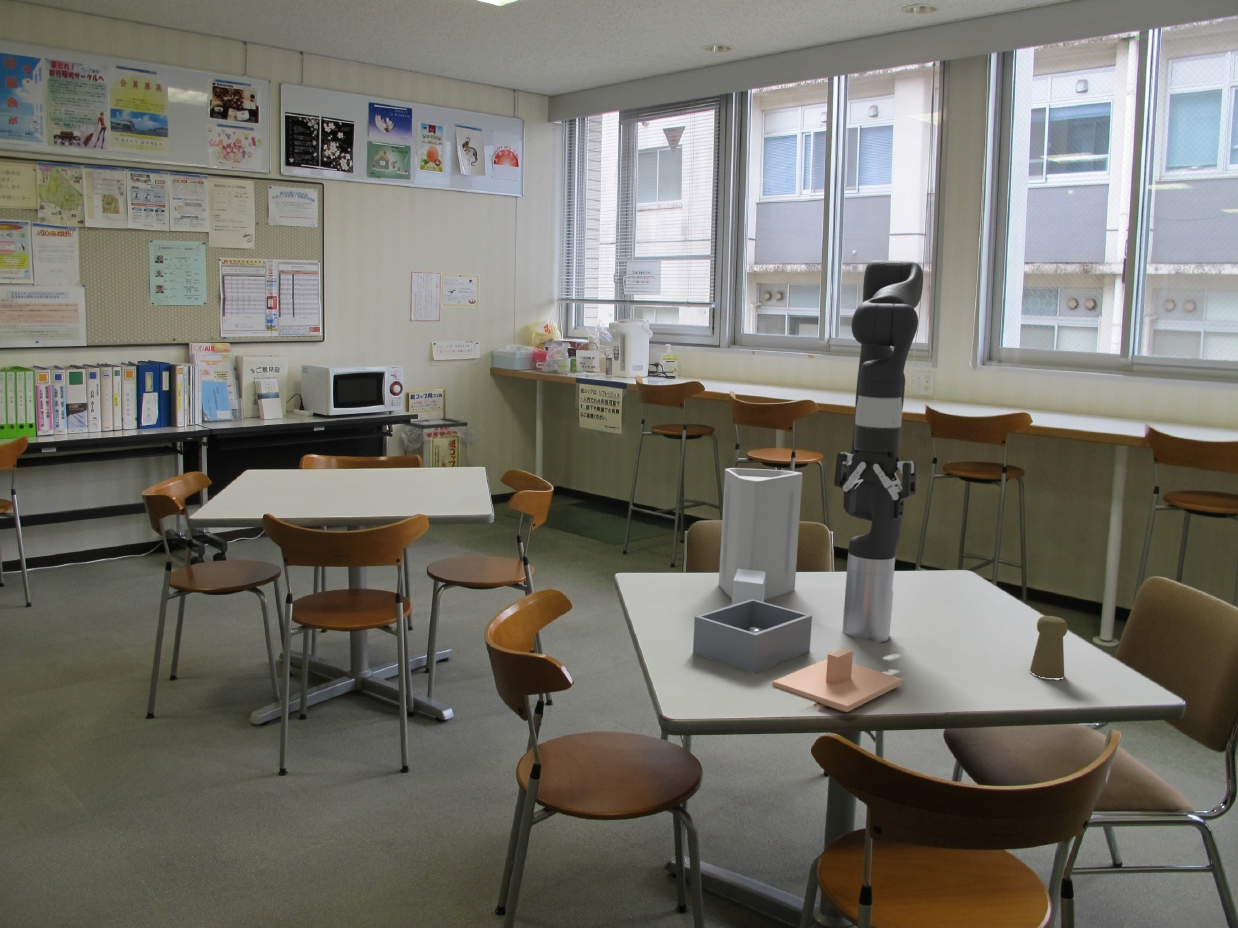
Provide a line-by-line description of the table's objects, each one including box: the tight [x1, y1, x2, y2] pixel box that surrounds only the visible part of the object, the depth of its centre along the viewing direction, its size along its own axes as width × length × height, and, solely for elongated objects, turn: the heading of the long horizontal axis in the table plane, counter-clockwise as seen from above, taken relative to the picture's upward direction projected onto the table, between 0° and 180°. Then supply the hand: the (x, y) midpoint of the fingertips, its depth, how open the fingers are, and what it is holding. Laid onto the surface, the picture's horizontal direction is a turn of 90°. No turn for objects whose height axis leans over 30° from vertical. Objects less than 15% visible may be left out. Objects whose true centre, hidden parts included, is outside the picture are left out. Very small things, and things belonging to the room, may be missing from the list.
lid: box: [772, 647, 904, 713], centre depth 174 cm, size 19×15×7 cm
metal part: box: [749, 627, 764, 633], centre depth 193 cm, size 3×3×3 cm
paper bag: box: [718, 467, 803, 601], centre depth 233 cm, size 19×15×28 cm
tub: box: [692, 599, 813, 674], centre depth 189 cm, size 18×14×8 cm
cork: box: [1029, 615, 1068, 678], centre depth 185 cm, size 6×6×11 cm
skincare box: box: [730, 569, 766, 606], centre depth 209 cm, size 10×6×10 cm, turn 168°
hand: (871, 516), depth 172 cm, fingers open, 8 cm apart
